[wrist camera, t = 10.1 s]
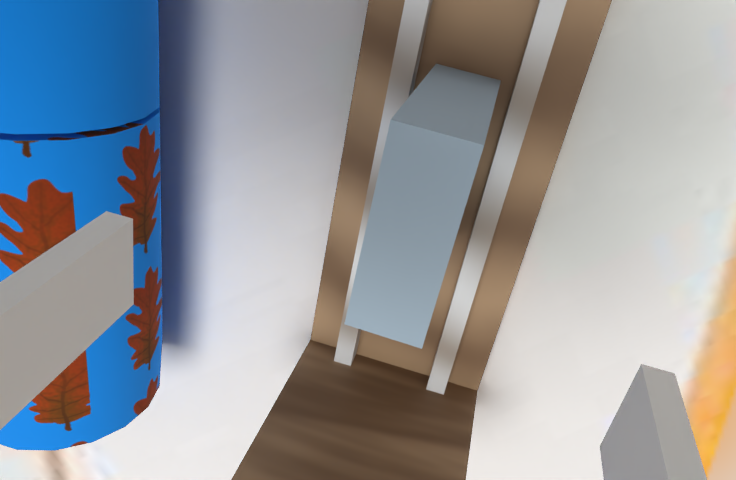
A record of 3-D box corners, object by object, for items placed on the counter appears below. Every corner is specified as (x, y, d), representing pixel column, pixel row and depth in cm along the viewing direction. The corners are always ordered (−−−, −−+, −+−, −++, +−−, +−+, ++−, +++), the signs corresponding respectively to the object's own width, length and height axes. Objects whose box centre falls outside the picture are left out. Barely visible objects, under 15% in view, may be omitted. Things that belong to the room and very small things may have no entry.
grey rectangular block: (435, 63, 28) (390, 119, 19) (500, 80, 28) (484, 145, 19) (397, 218, 32) (344, 324, 23) (453, 235, 32) (421, 348, 23)
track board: (395, -125, 26) (301, -167, 16) (634, -77, 25) (705, -89, 15) (311, 356, 38) (226, 513, 28) (469, 405, 37) (443, 589, 27)
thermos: (195, 353, 41) (203, -71, 29) (93, 478, 31) (45, -76, 20) (47, 312, 42) (-1, -106, 31) (-92, 418, 33) (-236, -126, 21)
